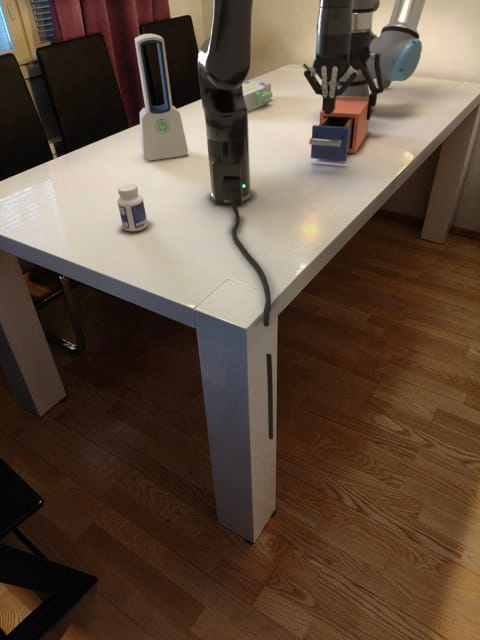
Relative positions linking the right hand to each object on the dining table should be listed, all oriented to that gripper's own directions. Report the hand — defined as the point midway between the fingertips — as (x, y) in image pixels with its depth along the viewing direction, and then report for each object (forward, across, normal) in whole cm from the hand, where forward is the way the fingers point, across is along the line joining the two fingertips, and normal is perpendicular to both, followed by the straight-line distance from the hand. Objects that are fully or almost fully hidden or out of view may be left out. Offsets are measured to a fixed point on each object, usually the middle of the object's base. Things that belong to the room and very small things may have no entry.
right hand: (349, 117), depth 143 cm
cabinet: (+5, 0, +6) cm, 8 cm away
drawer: (+4, 0, +19) cm, 20 cm away
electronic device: (+5, +47, +28) cm, 55 cm away
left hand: (-8, 0, +28) cm, 29 cm away
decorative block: (+5, +45, -23) cm, 51 cm away
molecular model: (+5, +9, -62) cm, 63 cm away
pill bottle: (+6, +31, +71) cm, 77 cm away
